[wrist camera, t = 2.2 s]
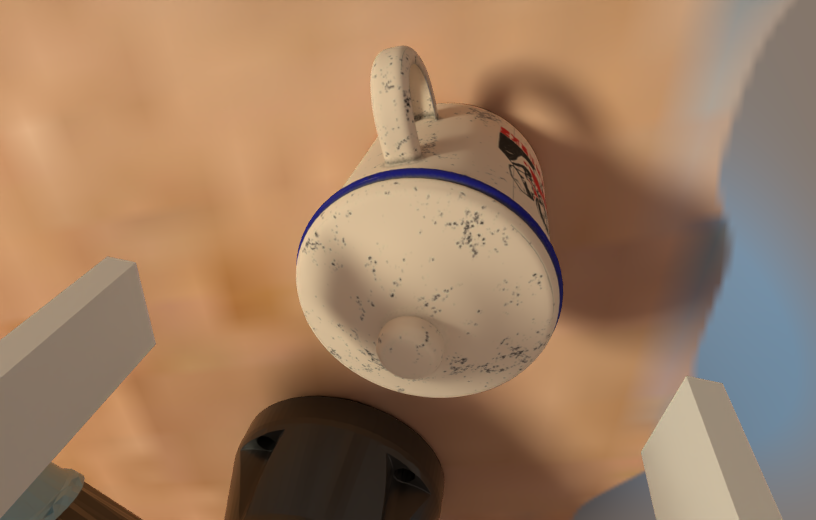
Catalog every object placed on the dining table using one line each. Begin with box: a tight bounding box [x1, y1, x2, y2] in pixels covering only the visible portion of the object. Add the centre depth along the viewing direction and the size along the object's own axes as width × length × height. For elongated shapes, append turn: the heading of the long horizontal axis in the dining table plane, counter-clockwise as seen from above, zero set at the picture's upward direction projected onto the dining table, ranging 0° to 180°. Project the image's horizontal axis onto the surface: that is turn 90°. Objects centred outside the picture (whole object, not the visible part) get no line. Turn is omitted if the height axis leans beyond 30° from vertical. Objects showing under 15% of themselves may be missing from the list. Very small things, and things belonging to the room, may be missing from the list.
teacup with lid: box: [296, 46, 563, 398], centre depth 19 cm, size 12×9×12 cm
